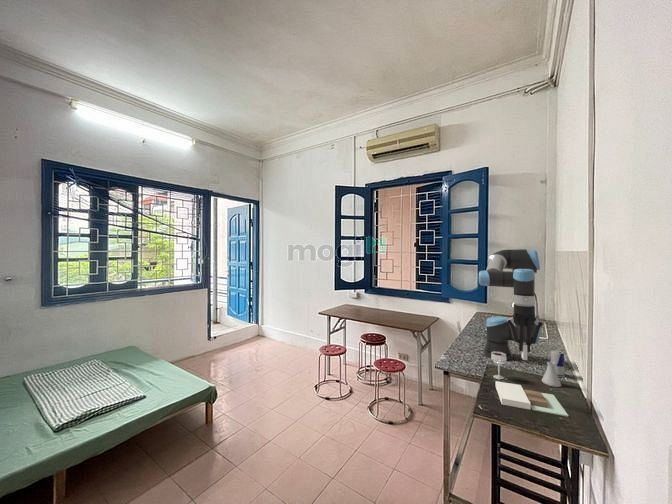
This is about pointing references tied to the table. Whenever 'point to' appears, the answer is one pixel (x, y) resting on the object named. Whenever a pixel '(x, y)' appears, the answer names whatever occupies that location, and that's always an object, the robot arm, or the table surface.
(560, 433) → the table surface
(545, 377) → the flask
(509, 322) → the robot arm
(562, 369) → the energy drink
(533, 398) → the walnut tile
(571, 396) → the table surface
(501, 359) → the wineglass
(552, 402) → the mat
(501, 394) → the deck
